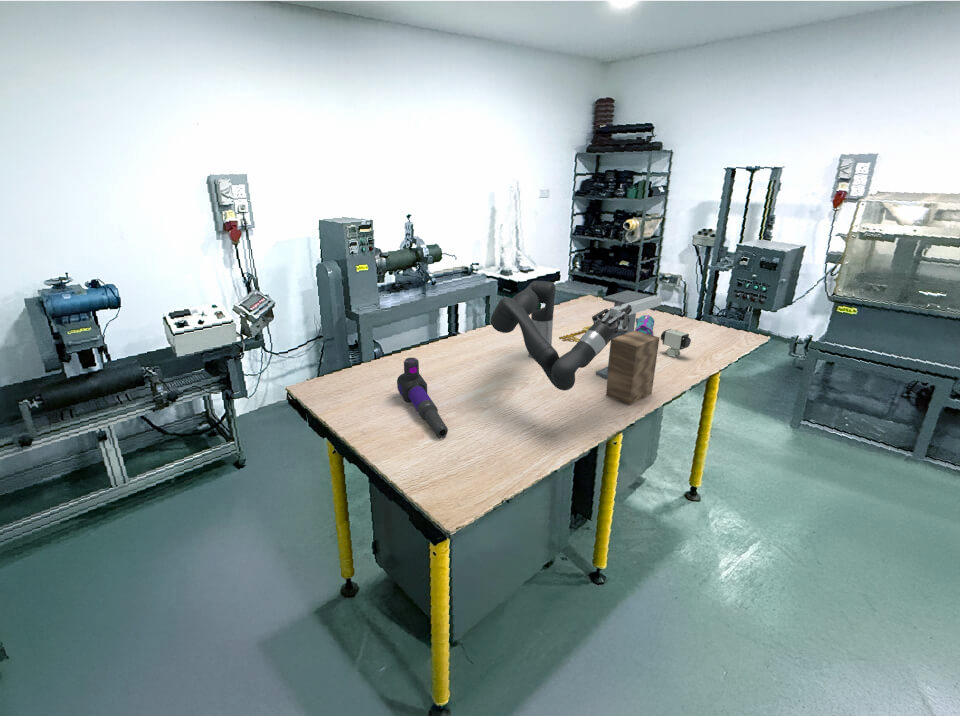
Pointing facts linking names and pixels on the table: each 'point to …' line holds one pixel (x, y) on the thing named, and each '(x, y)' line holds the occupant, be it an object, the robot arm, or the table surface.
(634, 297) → the steel stand
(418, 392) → the device
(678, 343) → the mini surveillance camera
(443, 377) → the table surface
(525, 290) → the robot arm
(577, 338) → the key
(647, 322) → the pencil case
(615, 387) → the block
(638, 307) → the aluminium bar
